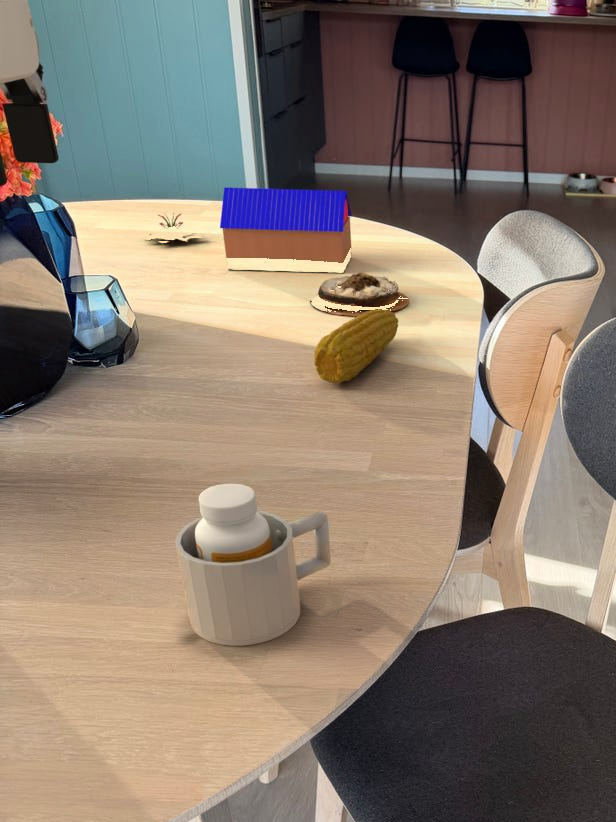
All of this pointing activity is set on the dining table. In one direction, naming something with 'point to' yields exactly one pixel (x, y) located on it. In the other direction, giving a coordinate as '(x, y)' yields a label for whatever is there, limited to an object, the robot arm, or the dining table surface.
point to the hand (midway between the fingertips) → (12, 172)
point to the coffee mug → (250, 583)
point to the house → (286, 224)
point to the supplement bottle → (231, 525)
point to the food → (354, 345)
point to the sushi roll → (361, 293)
